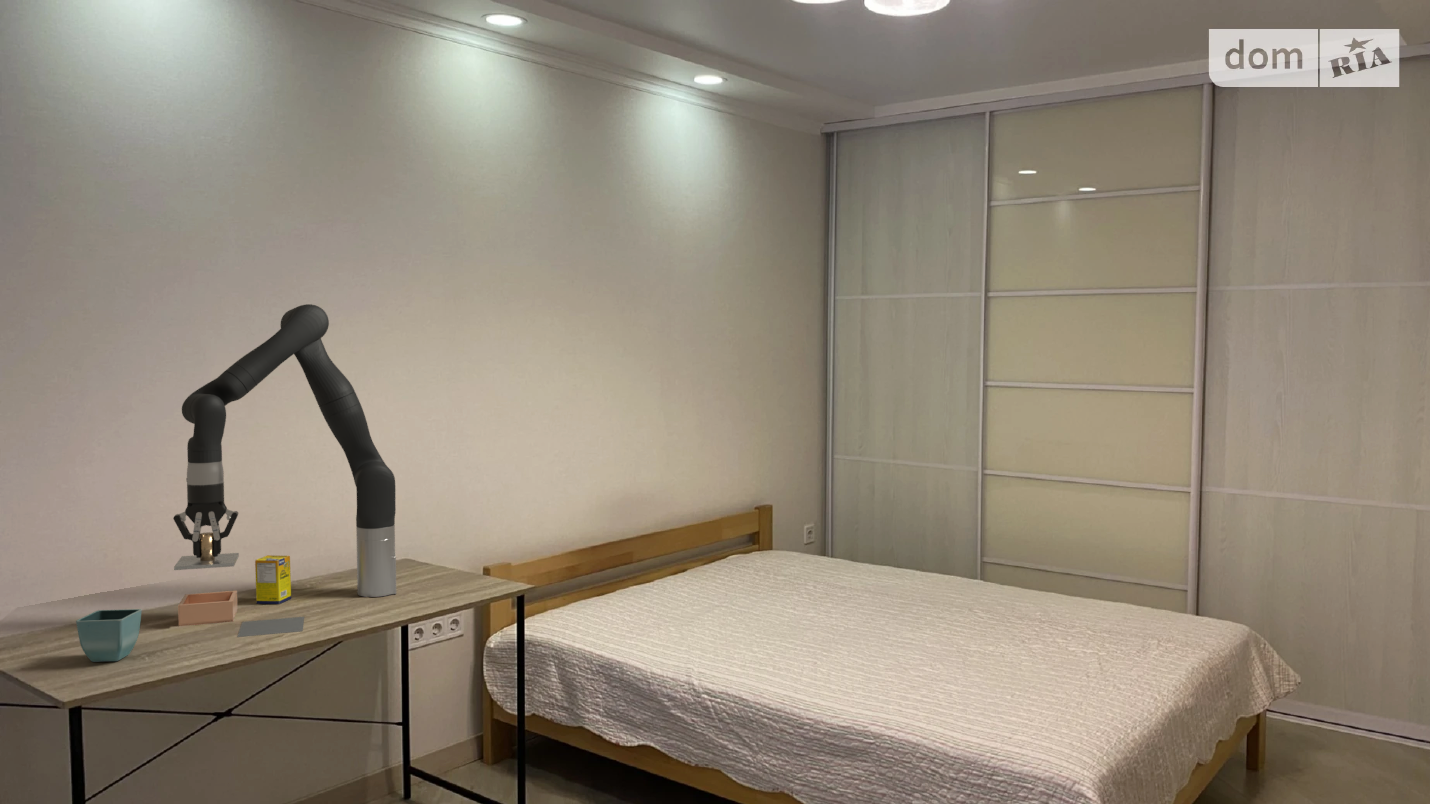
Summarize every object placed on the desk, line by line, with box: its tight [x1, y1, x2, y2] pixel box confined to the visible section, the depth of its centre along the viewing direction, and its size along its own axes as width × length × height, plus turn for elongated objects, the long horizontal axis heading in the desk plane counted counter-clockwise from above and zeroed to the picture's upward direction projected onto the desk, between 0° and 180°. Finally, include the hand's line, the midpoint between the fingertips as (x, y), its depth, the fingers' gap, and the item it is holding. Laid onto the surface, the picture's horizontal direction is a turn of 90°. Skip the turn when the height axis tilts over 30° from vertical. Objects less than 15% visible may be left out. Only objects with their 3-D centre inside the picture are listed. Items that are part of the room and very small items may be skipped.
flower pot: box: [75, 608, 143, 663], centre depth 206 cm, size 9×9×9 cm
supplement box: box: [254, 554, 292, 605], centre depth 252 cm, size 6×6×11 cm
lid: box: [173, 531, 240, 571], centre depth 235 cm, size 12×12×7 cm
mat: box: [237, 616, 305, 638], centre depth 228 cm, size 13×13×1 cm
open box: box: [177, 590, 239, 627], centre depth 236 cm, size 11×11×5 cm
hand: (207, 556), depth 235 cm, fingers closed on lid, 3 cm apart
